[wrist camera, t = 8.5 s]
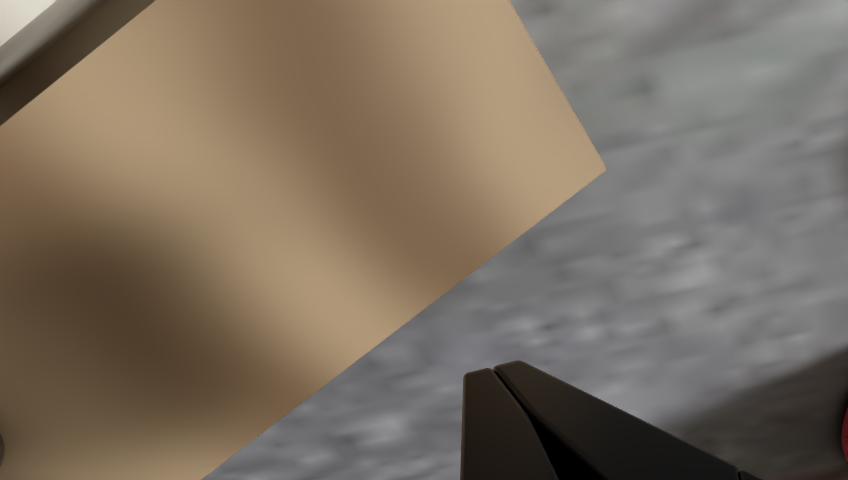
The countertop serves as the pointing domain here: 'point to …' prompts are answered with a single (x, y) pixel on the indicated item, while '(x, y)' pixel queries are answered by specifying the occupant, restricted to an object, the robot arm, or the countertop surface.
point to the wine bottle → (845, 435)
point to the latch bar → (1, 449)
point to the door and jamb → (245, 207)
